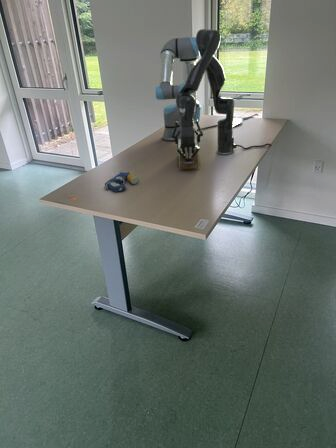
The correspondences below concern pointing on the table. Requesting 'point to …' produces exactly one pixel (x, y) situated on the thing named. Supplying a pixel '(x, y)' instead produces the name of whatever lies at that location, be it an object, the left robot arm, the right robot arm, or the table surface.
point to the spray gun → (120, 181)
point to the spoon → (236, 121)
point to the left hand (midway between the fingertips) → (187, 148)
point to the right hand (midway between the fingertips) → (189, 164)
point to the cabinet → (181, 149)
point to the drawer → (192, 164)
